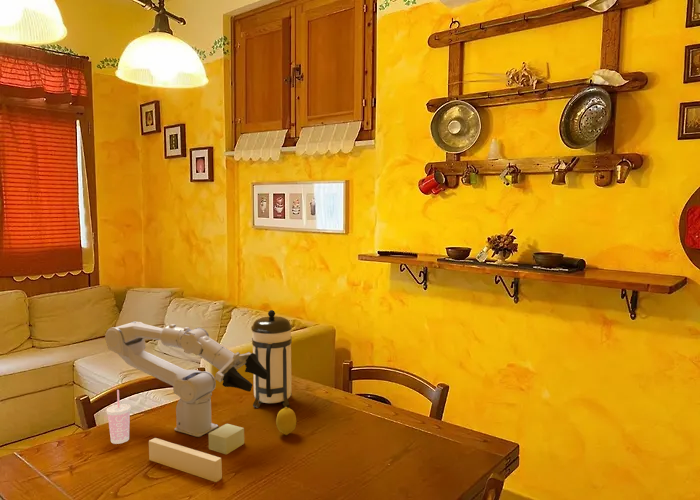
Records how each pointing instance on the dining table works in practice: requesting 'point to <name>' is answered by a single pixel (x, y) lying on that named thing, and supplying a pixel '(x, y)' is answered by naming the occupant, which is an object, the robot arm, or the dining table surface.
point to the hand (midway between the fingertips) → (259, 382)
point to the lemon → (286, 420)
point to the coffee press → (272, 359)
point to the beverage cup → (119, 421)
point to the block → (226, 438)
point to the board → (185, 459)
